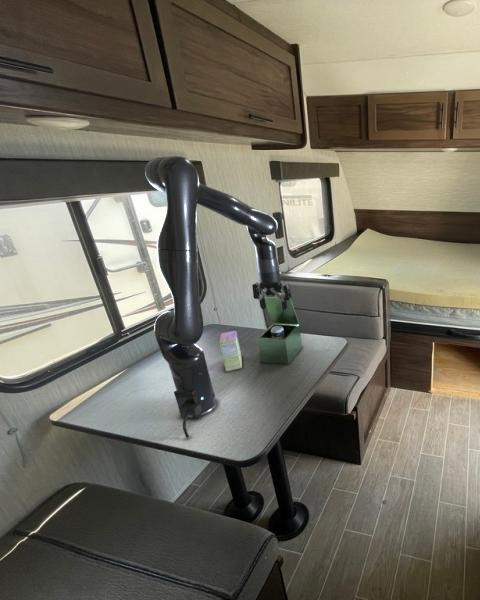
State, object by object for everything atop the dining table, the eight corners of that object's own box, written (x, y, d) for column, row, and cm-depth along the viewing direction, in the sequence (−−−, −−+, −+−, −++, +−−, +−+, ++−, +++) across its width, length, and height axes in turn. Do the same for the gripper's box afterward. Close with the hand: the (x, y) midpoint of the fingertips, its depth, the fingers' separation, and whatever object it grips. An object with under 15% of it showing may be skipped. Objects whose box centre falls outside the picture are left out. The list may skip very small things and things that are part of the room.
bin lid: (290, 299, 126) (294, 290, 130) (262, 297, 127) (267, 289, 131) (299, 324, 136) (303, 316, 140) (273, 323, 137) (277, 314, 141)
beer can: (289, 354, 133) (285, 328, 129) (277, 358, 130) (273, 331, 126) (283, 349, 136) (280, 324, 132) (272, 353, 133) (268, 327, 129)
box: (226, 358, 131) (220, 333, 127) (241, 355, 133) (236, 330, 129) (225, 372, 122) (219, 344, 118) (241, 368, 124) (236, 341, 120)
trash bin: (288, 364, 127) (285, 339, 124) (261, 362, 129) (256, 338, 125) (302, 347, 140) (299, 324, 136) (276, 345, 141) (273, 323, 137)
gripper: (244, 271, 117) (252, 312, 123) (282, 272, 116) (287, 313, 122) (255, 266, 124) (262, 304, 130) (290, 267, 123) (295, 306, 129)
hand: (274, 309), depth 126 cm, fingers open, 8 cm apart
